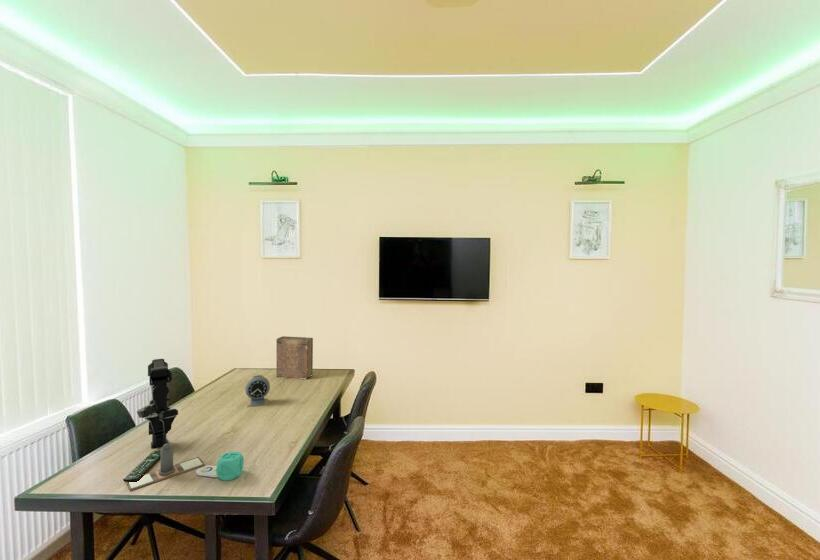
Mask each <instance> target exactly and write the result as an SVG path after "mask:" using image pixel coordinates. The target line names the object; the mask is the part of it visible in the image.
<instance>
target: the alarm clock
mask: <svg viewBox="0 0 820 560" xmlns="http://www.w3.org/2000/svg"><path fill="white" fill-rule="evenodd" d="M270 389H271V385H270V381H269V379H268V378H267V377H265V376H264V375H263V374H255V375H253V376H252V377H251V378H250V379H248V380H247V381H246V383H245V386H244V391H245V394H246V396H247V397H248V398H250V399H249V400H246V408H252V407H253V408H254V407H260V406H269V405H270V403H269V399H268V398H265V397H266V396H267V395H268V394H269V392H270Z"/></svg>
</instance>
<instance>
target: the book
mask: <svg viewBox="0 0 820 560" xmlns="http://www.w3.org/2000/svg"><path fill="white" fill-rule="evenodd" d="M313 349H314V338H313V337H305V336H303V337H302V336H285V335H284V336H283V335H282V336H280V337H278V338H276V378H278V377H287V378H286V379H291V378H306V379H308V380H309V378H310V377H312V376H313V373H314V372H313V370H314V369H313V367H314V366H313V365H314V364H313V363H314V362H313V361H314V360H313V358H314V353H313V352H314V350H313ZM311 375H312V376H311ZM308 377H309V378H308Z"/></svg>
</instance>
